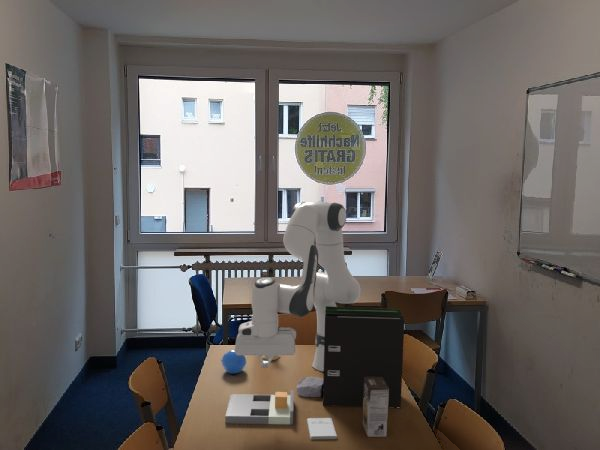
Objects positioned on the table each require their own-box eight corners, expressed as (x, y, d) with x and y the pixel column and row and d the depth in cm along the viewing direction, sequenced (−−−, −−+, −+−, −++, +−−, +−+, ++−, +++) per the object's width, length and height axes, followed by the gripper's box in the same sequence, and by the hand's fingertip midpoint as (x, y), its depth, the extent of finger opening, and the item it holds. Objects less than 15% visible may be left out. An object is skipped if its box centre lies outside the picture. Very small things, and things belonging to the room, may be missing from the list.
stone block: (296, 401, 205) (322, 398, 204) (293, 388, 205) (320, 385, 203) (301, 389, 217) (326, 386, 215) (298, 377, 217) (324, 374, 215)
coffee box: (361, 423, 185) (363, 376, 183) (380, 423, 185) (382, 376, 183) (367, 437, 176) (368, 387, 174) (387, 436, 176) (389, 387, 174)
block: (287, 403, 193) (287, 392, 192) (286, 408, 189) (287, 397, 188) (275, 403, 193) (275, 391, 192) (274, 408, 189) (275, 396, 188)
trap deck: (293, 401, 200) (293, 389, 199) (293, 424, 183) (293, 411, 182) (231, 400, 200) (231, 388, 199) (225, 423, 183) (225, 410, 182)
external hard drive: (310, 441, 174) (306, 422, 186) (337, 440, 174) (331, 422, 187) (310, 436, 173) (307, 417, 186) (337, 435, 174) (331, 417, 186)
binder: (396, 392, 210) (399, 308, 206) (401, 410, 195) (405, 320, 191) (323, 389, 211) (325, 306, 208) (322, 406, 197) (324, 317, 193)
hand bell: (263, 353, 249) (263, 318, 247) (281, 354, 248) (282, 319, 246) (259, 359, 241) (259, 323, 239) (278, 361, 240) (278, 324, 238)
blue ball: (247, 366, 233) (247, 344, 231) (245, 378, 221) (245, 354, 219) (223, 366, 232) (223, 344, 231) (219, 377, 220) (219, 354, 219)
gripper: (296, 324, 191) (296, 363, 193) (235, 324, 191) (236, 363, 193) (296, 330, 185) (296, 370, 187) (234, 330, 185) (234, 370, 187)
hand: (265, 366), depth 190 cm, fingers closed
